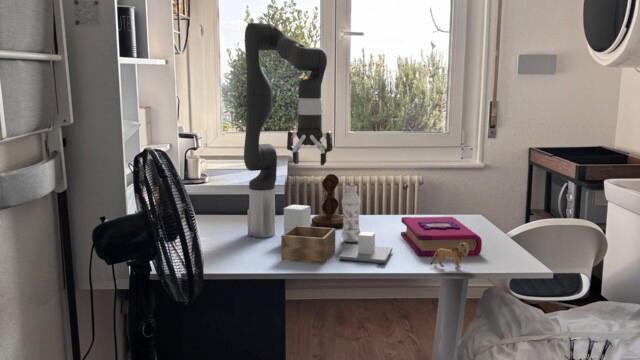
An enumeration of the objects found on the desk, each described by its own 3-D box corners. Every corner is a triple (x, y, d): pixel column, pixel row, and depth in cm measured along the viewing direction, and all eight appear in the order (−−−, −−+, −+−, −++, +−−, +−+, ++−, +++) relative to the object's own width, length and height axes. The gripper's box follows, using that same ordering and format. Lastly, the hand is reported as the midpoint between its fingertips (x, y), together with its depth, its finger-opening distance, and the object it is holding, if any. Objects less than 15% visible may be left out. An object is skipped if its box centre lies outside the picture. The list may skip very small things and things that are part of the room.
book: (455, 234, 227) (456, 214, 226) (481, 256, 200) (482, 233, 199) (400, 235, 226) (400, 215, 224) (418, 257, 198) (419, 234, 197)
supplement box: (311, 240, 217) (311, 205, 215) (302, 245, 210) (302, 209, 208) (293, 238, 220) (292, 203, 218) (283, 243, 213) (283, 207, 211)
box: (281, 260, 193) (281, 235, 191) (295, 248, 206) (294, 225, 205) (324, 263, 189) (324, 238, 188) (335, 251, 202) (335, 228, 201)
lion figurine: (466, 263, 190) (467, 240, 189) (470, 267, 186) (471, 244, 184) (428, 263, 189) (428, 241, 188) (431, 268, 185) (431, 244, 184)
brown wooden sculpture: (314, 220, 248) (314, 172, 244) (350, 222, 246) (351, 173, 242) (308, 229, 233) (308, 177, 230) (347, 230, 231) (347, 178, 228)
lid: (339, 261, 192) (339, 237, 191) (349, 249, 206) (349, 227, 205) (384, 265, 189) (385, 241, 187) (392, 253, 202) (392, 230, 201)
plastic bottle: (359, 244, 211) (360, 188, 208) (339, 243, 213) (340, 187, 209) (361, 240, 217) (362, 184, 214) (343, 239, 219) (343, 184, 216)
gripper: (284, 113, 188) (284, 165, 191) (328, 114, 185) (328, 167, 187) (291, 111, 195) (291, 162, 198) (334, 112, 192) (334, 163, 194)
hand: (309, 164), depth 193 cm, fingers open, 8 cm apart
